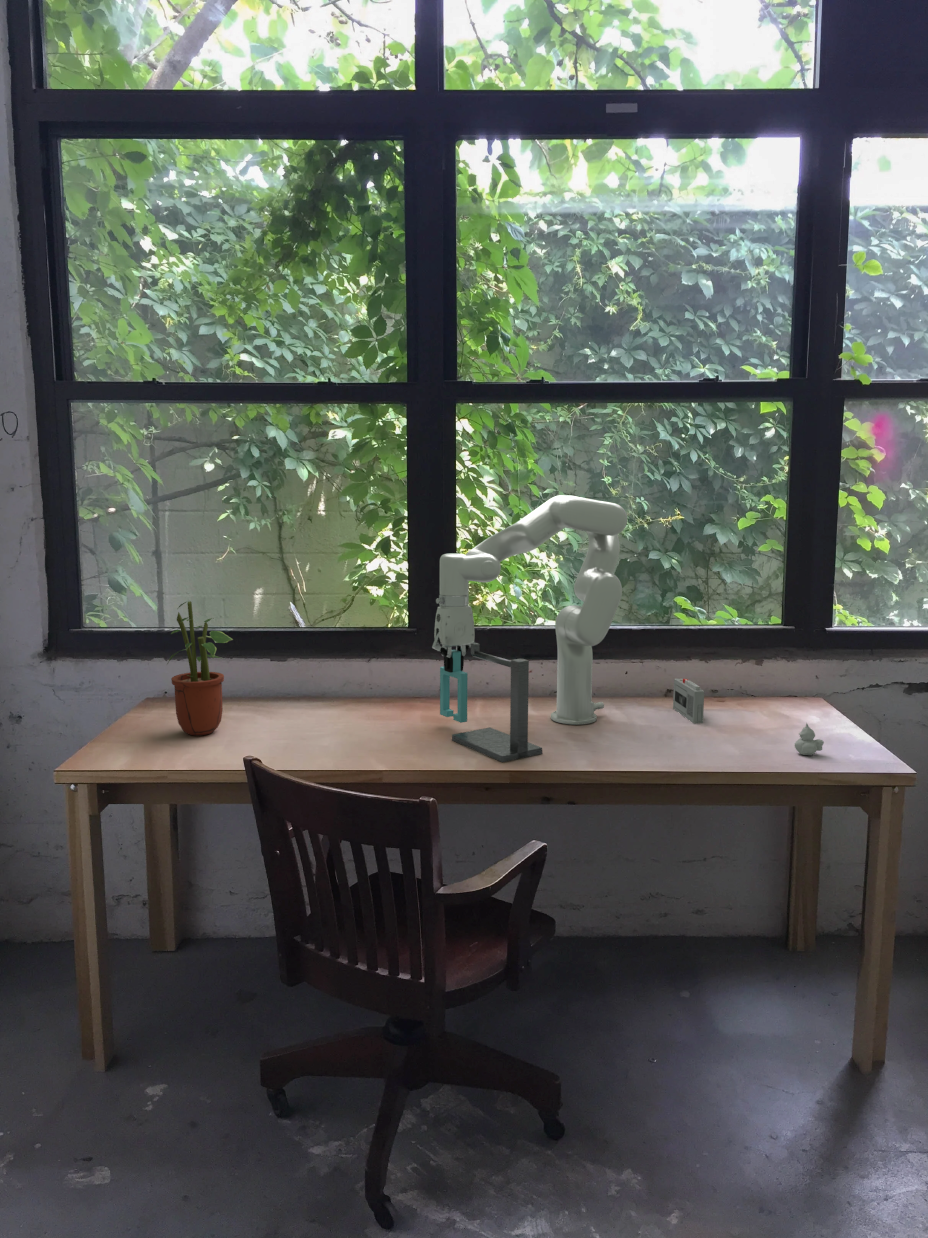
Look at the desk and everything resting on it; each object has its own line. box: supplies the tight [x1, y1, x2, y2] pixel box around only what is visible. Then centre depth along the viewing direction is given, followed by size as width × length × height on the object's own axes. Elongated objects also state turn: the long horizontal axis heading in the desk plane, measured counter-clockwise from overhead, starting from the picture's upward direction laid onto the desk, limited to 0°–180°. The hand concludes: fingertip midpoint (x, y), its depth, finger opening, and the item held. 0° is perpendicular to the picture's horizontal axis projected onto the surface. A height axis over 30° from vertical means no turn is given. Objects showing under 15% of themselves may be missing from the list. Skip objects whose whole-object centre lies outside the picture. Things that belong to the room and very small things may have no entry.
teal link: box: [439, 649, 469, 724], centre depth 237 cm, size 10×2×18 cm, turn 34°
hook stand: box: [451, 642, 543, 763], centre depth 222 cm, size 12×22×25 cm, turn 34°
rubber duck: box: [794, 722, 825, 756], centre depth 217 cm, size 5×7×8 cm
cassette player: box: [672, 678, 705, 724], centre depth 252 cm, size 16×3×10 cm, turn 8°
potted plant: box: [166, 600, 234, 737], centre depth 236 cm, size 17×16×35 cm
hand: (453, 670), depth 237 cm, fingers closed on teal link, 2 cm apart
